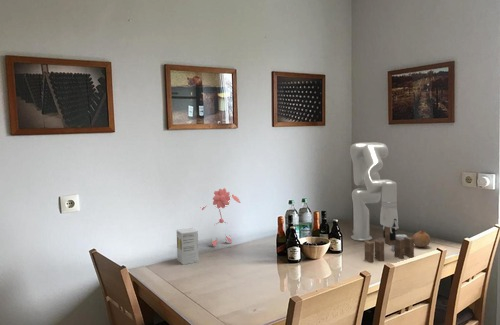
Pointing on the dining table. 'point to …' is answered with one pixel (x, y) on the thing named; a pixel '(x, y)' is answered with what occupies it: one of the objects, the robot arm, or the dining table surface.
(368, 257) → the domino
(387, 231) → the domino
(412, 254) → the domino
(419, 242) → the onion
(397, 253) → the domino
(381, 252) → the domino
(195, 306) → the dining table surface
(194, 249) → the supplement box
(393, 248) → the medicine box
